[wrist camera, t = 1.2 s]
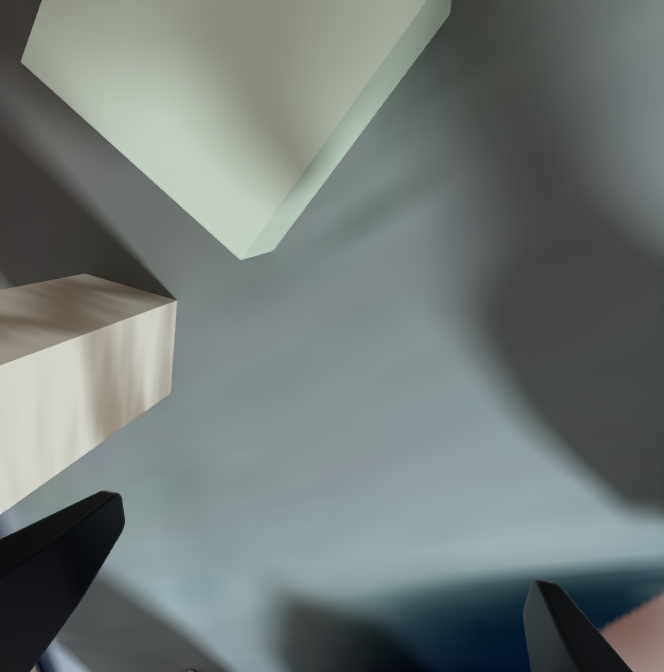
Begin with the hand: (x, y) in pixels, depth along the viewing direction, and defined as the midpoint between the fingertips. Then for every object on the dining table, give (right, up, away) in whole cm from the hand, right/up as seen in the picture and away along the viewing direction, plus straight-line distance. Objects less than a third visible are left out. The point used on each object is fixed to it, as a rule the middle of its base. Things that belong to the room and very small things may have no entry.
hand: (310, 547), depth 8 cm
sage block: (-3, +17, +9) cm, 20 cm away
